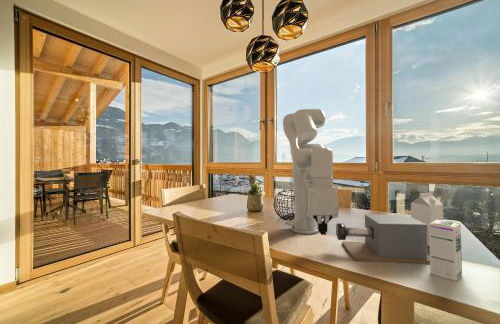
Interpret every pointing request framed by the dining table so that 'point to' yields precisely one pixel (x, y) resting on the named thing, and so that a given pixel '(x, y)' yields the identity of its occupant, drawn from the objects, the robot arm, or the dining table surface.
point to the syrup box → (445, 249)
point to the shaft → (352, 231)
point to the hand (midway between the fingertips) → (322, 233)
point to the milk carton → (427, 210)
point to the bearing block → (391, 240)
